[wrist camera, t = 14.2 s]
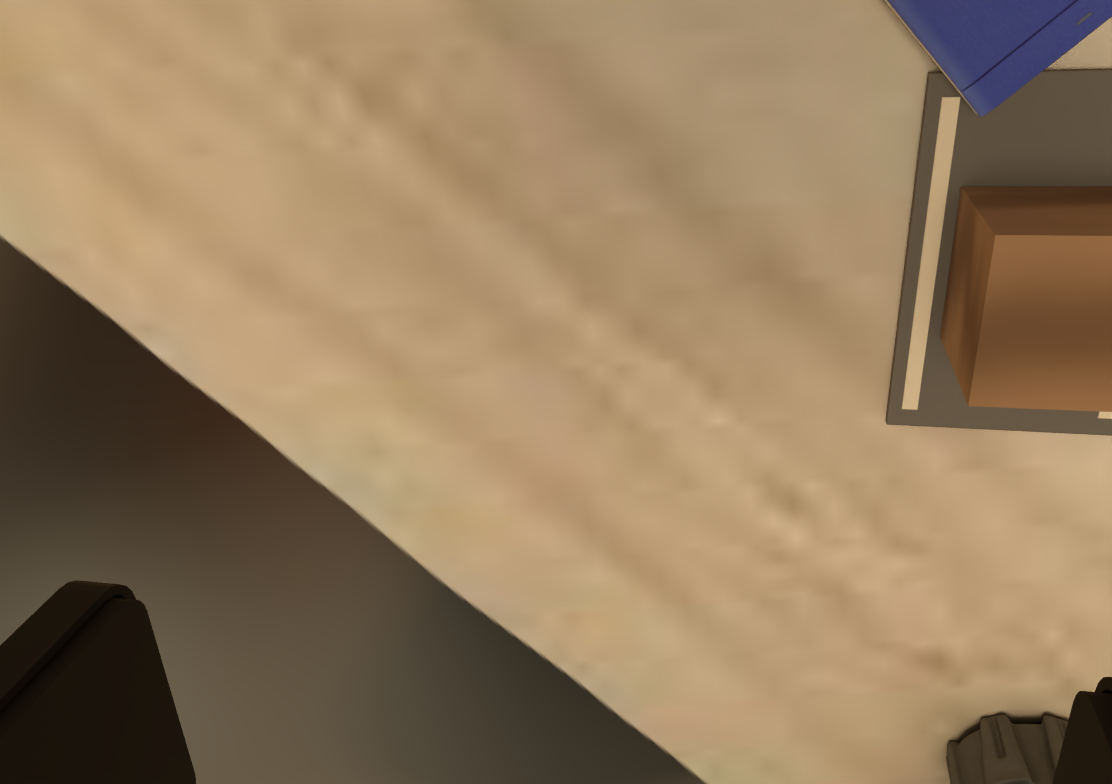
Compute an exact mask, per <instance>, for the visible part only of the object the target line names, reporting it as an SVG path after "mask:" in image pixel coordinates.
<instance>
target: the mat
mask: <svg viewBox="0 0 1112 784" xmlns="http://www.w3.org/2000/svg"><path fill="white" fill-rule="evenodd" d="M961 186H1112V69H1069V70H1043V71H1042V72H1041V73H1040V74H1038V75H1037V76H1036V77H1034V78H1033V79H1032V80H1030V81H1029V82H1028V83H1027V84H1025V85H1024V86H1023V87H1022V88H1020V89H1019V90H1018V91H1017V92H1015V93H1014V94H1013V95H1011V96H1010V97H1009V98H1008V99H1006V100H1005V101H1004V102H1002V103H1001V104H1000V105H998V106H997V107H996V108H994V109H993V110H992V111H990V112H989V113H987V114H986V115H984V116H983V117H980V116H979V115H978V114H976V113H975V112H974V111H973V109H972V108H971V107H970V106H969V104H968V103H967V102H966V101H965V99H964V98H963V97H962V96H961V94H960V93H959V92H958V91H957V89H956V88H955V87H954V86H953V84H952V83H951V82H950V81H949V80H948V78H947V77H946V76H945V75H944V73H943V72H928V78H927V86H926V94H925V103H924V111H923V119H922V127H921V135H920V144H919V152H918V160H917V168H916V176H915V184H914V193H913V201H912V209H911V217H910V225H909V234H908V242H907V250H906V258H905V266H904V275H903V283H902V291H901V299H900V307H899V316H898V324H897V332H896V340H895V348H894V357H893V365H892V373H891V381H890V389H889V397H888V406H887V414H886V423H887V424H888V425H908V426H929V427H949V428H969V429H989V430H1010V431H1030V432H1050V433H1071V434H1091V435H1111V436H1112V412H1099V411H1075V410H1050V409H1026V408H1001V407H977V406H968V404H967V402H966V399H965V397H964V394H963V392H962V390H961V387H960V385H959V382H958V380H957V377H956V375H955V373H954V370H953V368H952V365H951V363H950V360H949V358H948V356H947V353H946V351H945V348H944V346H943V343H942V341H941V339H940V332H941V325H942V318H943V310H944V303H945V296H946V289H947V281H948V274H949V267H950V260H951V252H952V245H953V238H954V231H955V223H956V216H957V209H958V202H959V195H960V187H961Z"/></svg>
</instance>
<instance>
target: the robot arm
mask: <svg viewBox="0 0 1112 784" xmlns="http://www.w3.org/2000/svg"><path fill="white" fill-rule="evenodd" d="M0 784H196V777H195V772H194V769H193V765H192V762H191V759H190V755H189V752H188V749H187V745H186V742H185V738H184V735H183V731H182V728H181V725H180V721H179V718H178V714H177V711H176V707H175V704H174V701H173V697H172V694H171V691H170V687H169V684H168V681H167V677H166V674H165V670H164V667H163V664H162V660H161V656H160V653H159V650H158V646H157V643H156V640H155V636H154V633H153V629H152V626H151V623H150V619H149V616H148V612H147V610H146V608H145V605H144V604H143V603H142V602H141V601H139V600H136V598H135V596H134V594H133V592H132V591H131V590H130V589H129V588H128V587H127V586H124V585H119V584H109V583H98V582H88V581H72V582H68V583H67V584H65V585H64V586H62V587H61V588H60V589H59V590H58V591H57V592H55V593H54V594H53V595H52V596H51V597H50V598H49V599H48V600H47V601H46V602H45V603H44V604H43V605H42V606H41V607H40V608H39V609H38V610H37V611H36V612H35V613H34V614H33V615H32V616H30V618H28V619H27V620H26V621H25V622H24V623H23V624H22V625H21V626H20V627H19V628H18V629H17V630H16V631H15V632H14V633H13V634H12V635H11V636H10V637H9V638H8V639H7V640H6V641H5V642H3V644H1V646H0ZM1052 784H1112V677H1103V678H1102V679H1101V680H1100V682H1099V683H1098V685H1097V688H1096V690H1095V692H1087V691H1079V692H1078V693H1077V695H1076V696H1075V699H1074V702H1073V705H1072V709H1071V713H1070V717H1069V721H1068V725H1067V729H1066V732H1065V736H1064V740H1063V744H1062V748H1061V752H1060V756H1059V760H1058V763H1057V767H1056V771H1055V775H1054V779H1053V783H1052Z"/></svg>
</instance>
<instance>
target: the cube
mask: <svg viewBox="0 0 1112 784" xmlns="http://www.w3.org/2000/svg"><path fill="white" fill-rule="evenodd" d="M940 339H941V341H942V343H943V346H944V348H945V351H946V353H947V356H948V358H949V360H950V363H951V365H952V368H953V370H954V373H955V375H956V377H957V380H958V382H959V385H960V387H961V390H962V392H963V394H964V397H965V399H966V402H967V404H968V406H977V407H1001V408H1026V409H1050V410H1075V411H1099V412H1112V186H961V187H960V195H959V202H958V209H957V216H956V223H955V231H954V238H953V245H952V252H951V260H950V267H949V274H948V281H947V289H946V296H945V303H944V310H943V318H942V325H941V332H940Z"/></svg>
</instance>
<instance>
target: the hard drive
mask: <svg viewBox="0 0 1112 784" xmlns="http://www.w3.org/2000/svg"><path fill="white" fill-rule="evenodd" d="M885 2H886V3H887V4H888V5H889V7H890V8H891V9H892V10H893V12H894V13H895V14H896V15H897V17H898V18H899V19H900V20H901V21H902V23H903V24H904V25H905V26H906V28H907V29H908V30H909V31H910V33H911V34H912V35H913V36H914V38H915V39H916V40H917V41H918V42H919V44H920V45H921V46H922V47H923V49H924V50H925V51H926V52H927V54H928V55H929V56H930V57H931V59H932V60H933V61H934V62H935V64H936V65H937V66H938V67H939V68H940V70H941V71H942V72H943V73H944V75H945V76H946V77H947V78H948V80H949V81H950V82H951V83H952V84H953V86H954V87H955V88H956V89H957V91H958V92H959V93H960V94H961V96H962V97H963V98H964V99H965V101H966V102H967V103H968V104H969V106H970V107H971V108H972V109H973V111H974V112H975V113H976V114H978V115H979V116H980V117H983V116H984V115H986V114H987V113H989V112H990V111H992V110H993V109H994V108H996V107H997V106H998V105H1000V104H1001V103H1002V102H1004V101H1005V100H1006V99H1008V98H1009V97H1010V96H1011V95H1013V94H1014V93H1015V92H1017V91H1018V90H1019V89H1020V88H1022V87H1023V86H1024V85H1025V84H1027V83H1028V82H1029V81H1030V80H1032V79H1033V78H1034V77H1036V76H1037V75H1038V74H1040V73H1041V72H1042V71H1043V70H1045V69H1046V68H1047V67H1048V66H1050V65H1051V64H1052V63H1054V62H1055V61H1056V60H1057V59H1059V58H1060V57H1061V56H1062V55H1064V54H1065V53H1066V52H1067V51H1069V50H1070V49H1071V48H1073V47H1074V46H1075V45H1076V44H1078V43H1079V42H1080V41H1081V40H1083V39H1084V38H1085V37H1087V36H1088V35H1089V34H1090V33H1092V32H1093V31H1094V30H1095V29H1097V28H1098V27H1099V26H1100V25H1102V24H1103V23H1104V22H1106V21H1107V20H1108V19H1109V18H1111V17H1112V0H885Z"/></svg>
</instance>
